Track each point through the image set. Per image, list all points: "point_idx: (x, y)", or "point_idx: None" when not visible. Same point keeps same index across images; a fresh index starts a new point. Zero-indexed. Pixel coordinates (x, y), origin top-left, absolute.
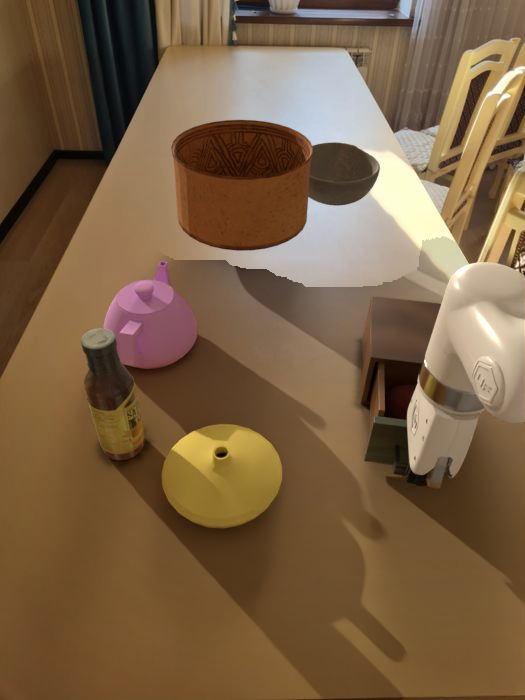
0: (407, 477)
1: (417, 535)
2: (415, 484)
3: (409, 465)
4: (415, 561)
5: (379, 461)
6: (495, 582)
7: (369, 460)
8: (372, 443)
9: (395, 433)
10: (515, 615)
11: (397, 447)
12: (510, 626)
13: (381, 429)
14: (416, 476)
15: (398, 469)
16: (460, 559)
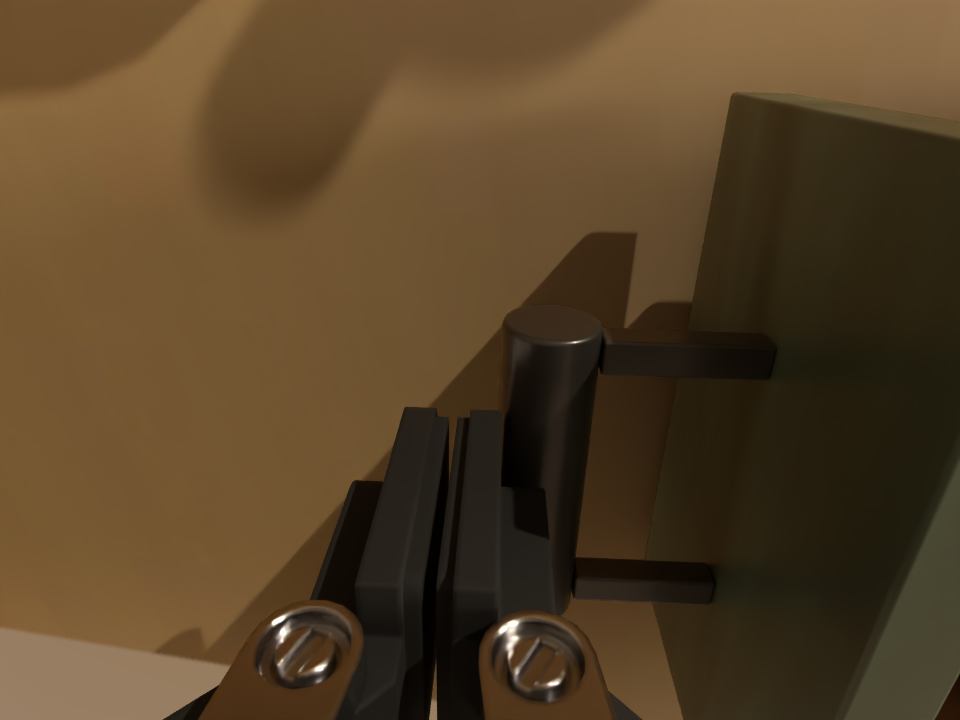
0: (399, 437)
1: (295, 367)
2: (357, 480)
3: (460, 493)
4: (159, 348)
5: (716, 201)
6: (184, 603)
7: (728, 130)
8: (817, 148)
9: (862, 401)
10: (89, 634)
11: (749, 364)
12: (44, 616)
13: (939, 263)
14: (348, 535)
15: (517, 360)
16: (234, 515)
